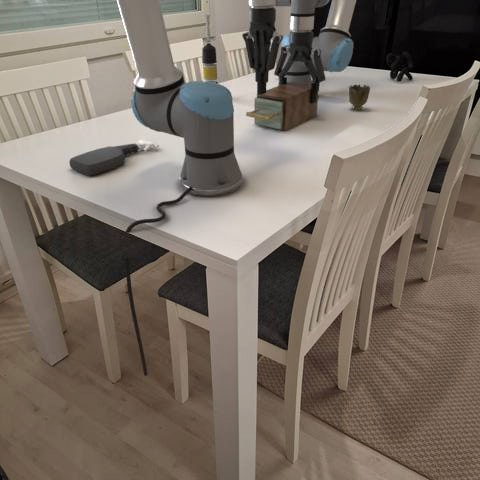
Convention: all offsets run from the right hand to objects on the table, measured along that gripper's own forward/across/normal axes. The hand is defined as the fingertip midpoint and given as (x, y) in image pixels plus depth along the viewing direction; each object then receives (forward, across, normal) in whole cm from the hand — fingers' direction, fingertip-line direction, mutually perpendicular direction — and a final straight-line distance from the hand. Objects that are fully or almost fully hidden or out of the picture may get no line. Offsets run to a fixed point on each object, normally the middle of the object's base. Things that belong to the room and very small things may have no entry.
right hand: (297, 99), depth 155 cm
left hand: (-7, 0, +22) cm, 23 cm away
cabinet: (+6, 0, +6) cm, 8 cm away
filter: (+6, +40, 0) cm, 41 cm away
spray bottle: (+6, +19, +64) cm, 67 cm away
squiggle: (+6, -10, -72) cm, 73 cm away
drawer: (+5, 0, +12) cm, 13 cm away
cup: (+6, -14, -18) cm, 24 cm away
